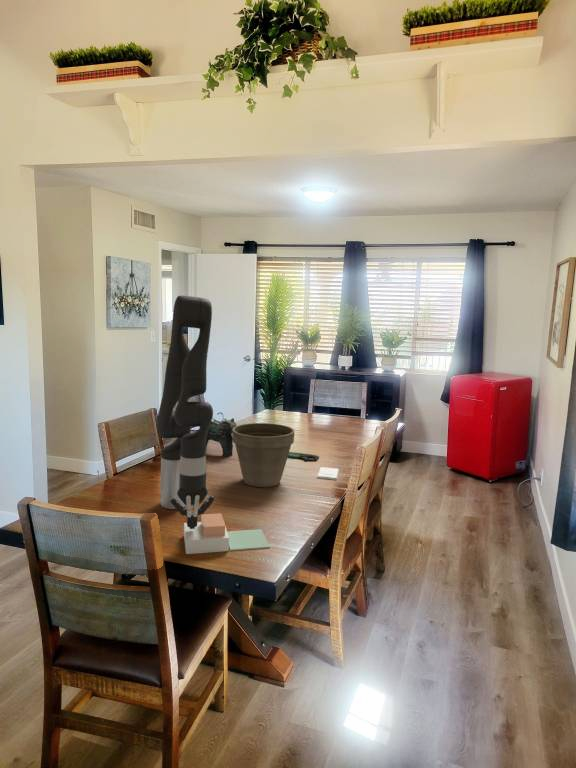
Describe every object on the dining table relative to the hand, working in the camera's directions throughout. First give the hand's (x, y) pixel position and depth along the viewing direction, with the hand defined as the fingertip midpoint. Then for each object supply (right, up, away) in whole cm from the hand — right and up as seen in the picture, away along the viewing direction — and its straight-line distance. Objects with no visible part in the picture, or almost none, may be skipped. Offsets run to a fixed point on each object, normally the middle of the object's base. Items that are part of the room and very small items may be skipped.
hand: (191, 527), depth 149 cm
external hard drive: (+45, +2, +70) cm, 83 cm away
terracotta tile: (+6, 0, +2) cm, 6 cm away
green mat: (+16, -5, +5) cm, 17 cm away
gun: (+34, +6, +92) cm, 99 cm away
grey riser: (+4, -5, +2) cm, 6 cm away
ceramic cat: (-6, +9, +93) cm, 94 cm away
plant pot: (+17, +2, +57) cm, 60 cm away
